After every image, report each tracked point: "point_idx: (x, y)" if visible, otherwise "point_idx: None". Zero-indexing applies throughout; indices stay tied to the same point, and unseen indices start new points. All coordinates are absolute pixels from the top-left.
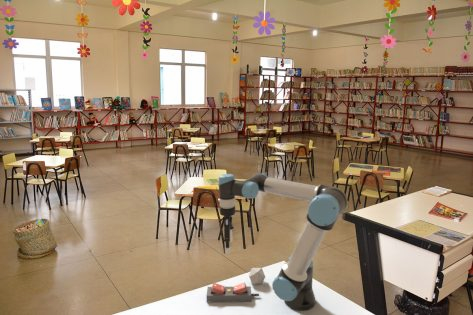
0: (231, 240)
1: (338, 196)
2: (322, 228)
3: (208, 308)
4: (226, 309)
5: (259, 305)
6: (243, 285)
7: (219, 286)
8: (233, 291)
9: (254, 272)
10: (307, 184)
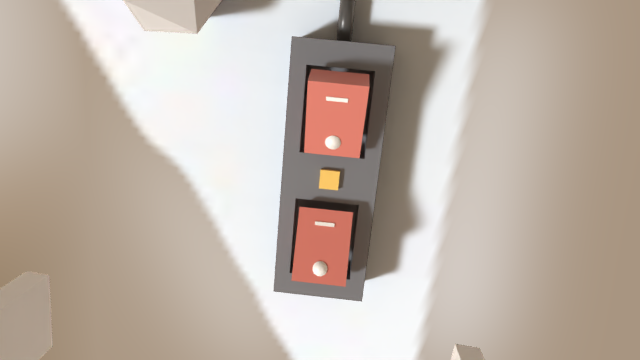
0: (32, 301)
1: None
2: None
3: (415, 276)
4: (439, 192)
5: (433, 3)
6: (340, 93)
7: (317, 242)
8: (301, 146)
9: None
10: None
